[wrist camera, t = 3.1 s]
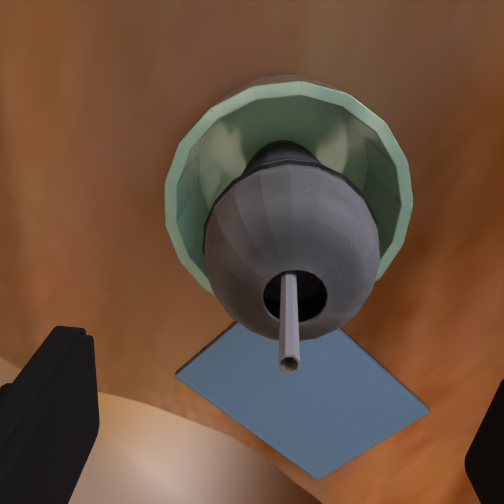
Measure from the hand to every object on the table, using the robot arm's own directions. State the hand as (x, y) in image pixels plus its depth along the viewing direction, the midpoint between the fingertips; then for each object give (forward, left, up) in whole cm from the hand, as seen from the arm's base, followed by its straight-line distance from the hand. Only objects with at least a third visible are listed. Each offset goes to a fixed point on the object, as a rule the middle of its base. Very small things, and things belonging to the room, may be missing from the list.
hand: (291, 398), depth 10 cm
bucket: (0, 0, -20) cm, 20 cm away
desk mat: (-15, +12, -20) cm, 28 cm away
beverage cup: (0, 0, -20) cm, 20 cm away
